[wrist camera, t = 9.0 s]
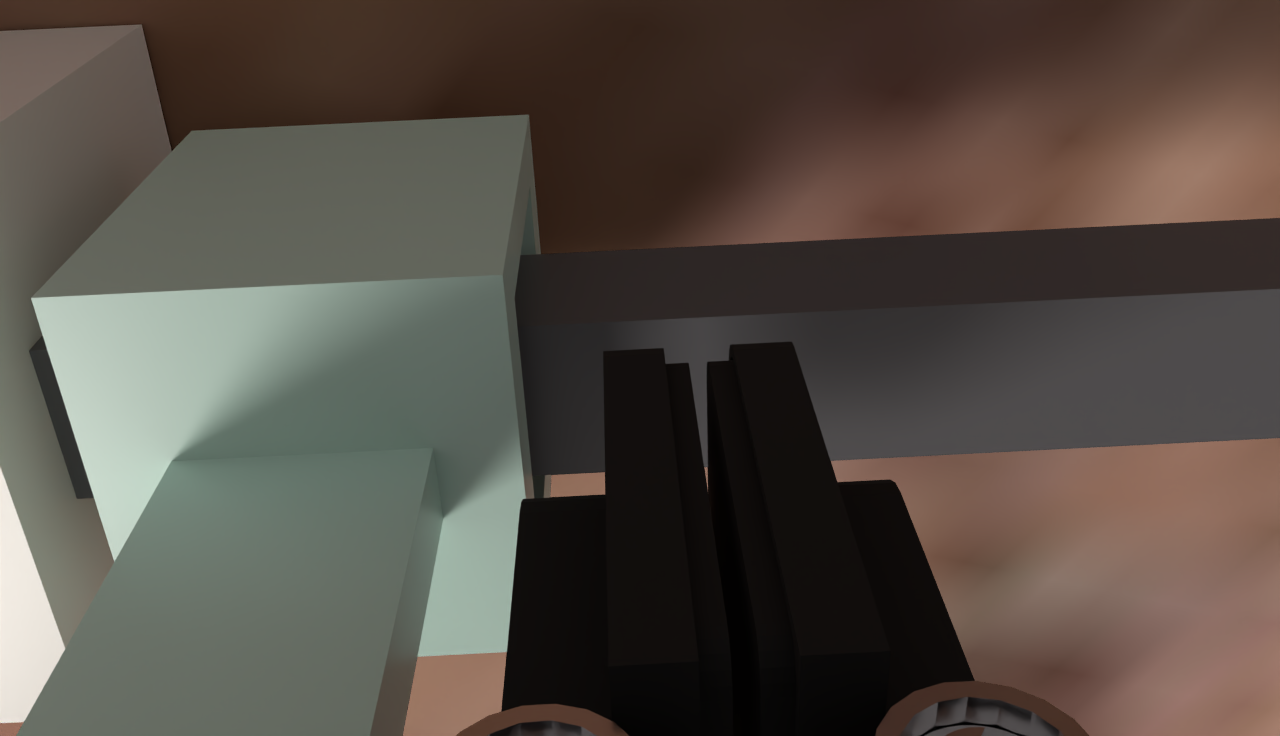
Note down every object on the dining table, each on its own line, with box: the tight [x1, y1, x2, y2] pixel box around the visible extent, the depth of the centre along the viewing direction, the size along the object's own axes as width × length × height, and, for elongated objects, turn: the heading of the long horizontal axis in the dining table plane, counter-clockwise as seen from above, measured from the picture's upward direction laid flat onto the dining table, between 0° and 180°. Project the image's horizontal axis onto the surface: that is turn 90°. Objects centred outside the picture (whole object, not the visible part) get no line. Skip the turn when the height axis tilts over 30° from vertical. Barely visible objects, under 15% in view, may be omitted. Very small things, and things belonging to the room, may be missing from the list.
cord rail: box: [0, 24, 1280, 723], centre depth 14 cm, size 30×8×6 cm, turn 92°
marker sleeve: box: [16, 115, 551, 736], centre depth 12 cm, size 4×4×8 cm
